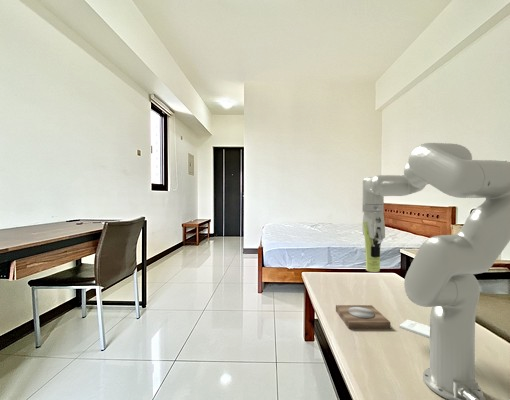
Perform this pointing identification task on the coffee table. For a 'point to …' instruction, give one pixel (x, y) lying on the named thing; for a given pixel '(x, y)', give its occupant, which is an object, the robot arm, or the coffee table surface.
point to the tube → (371, 262)
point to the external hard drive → (416, 328)
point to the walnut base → (362, 317)
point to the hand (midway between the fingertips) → (372, 254)
